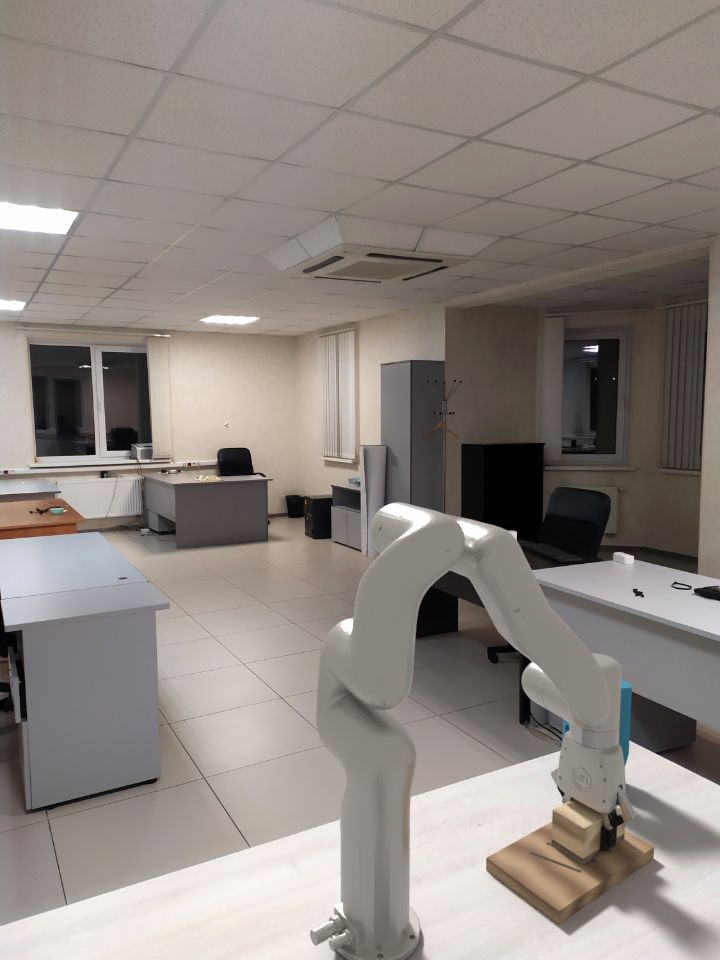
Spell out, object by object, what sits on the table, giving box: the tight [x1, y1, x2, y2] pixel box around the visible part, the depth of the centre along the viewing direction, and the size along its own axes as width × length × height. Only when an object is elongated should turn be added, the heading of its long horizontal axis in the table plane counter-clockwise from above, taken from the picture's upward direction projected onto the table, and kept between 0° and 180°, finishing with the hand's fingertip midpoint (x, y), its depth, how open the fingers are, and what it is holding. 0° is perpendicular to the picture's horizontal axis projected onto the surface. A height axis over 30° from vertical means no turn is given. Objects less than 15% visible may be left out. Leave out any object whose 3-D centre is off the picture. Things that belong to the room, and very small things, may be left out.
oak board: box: [485, 821, 655, 925], centre depth 109 cm, size 24×14×2 cm, turn 126°
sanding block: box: [551, 799, 626, 865], centre depth 111 cm, size 11×6×6 cm, turn 126°
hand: (589, 836), depth 111 cm, fingers closed on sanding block, 6 cm apart
